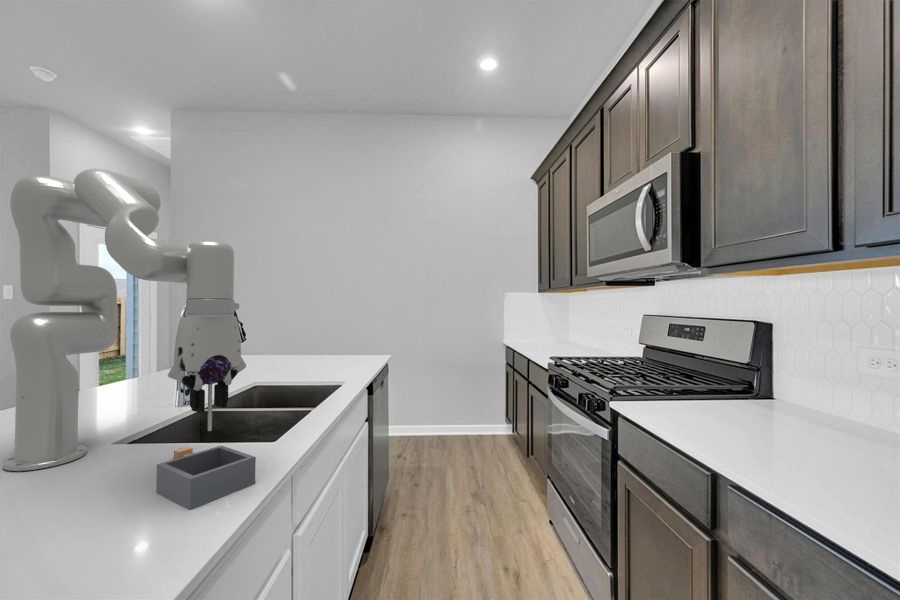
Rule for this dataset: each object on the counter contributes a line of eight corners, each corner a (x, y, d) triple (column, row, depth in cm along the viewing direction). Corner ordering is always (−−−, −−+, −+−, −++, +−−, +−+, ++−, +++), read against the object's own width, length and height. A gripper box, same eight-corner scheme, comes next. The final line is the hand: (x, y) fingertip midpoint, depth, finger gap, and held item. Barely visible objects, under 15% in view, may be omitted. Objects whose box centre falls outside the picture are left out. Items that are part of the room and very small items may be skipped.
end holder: (156, 492, 72) (156, 464, 72) (220, 470, 81) (221, 445, 81) (189, 509, 66) (190, 479, 66) (255, 483, 75) (255, 456, 76)
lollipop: (222, 423, 78) (222, 346, 79) (237, 429, 74) (237, 348, 74) (181, 431, 73) (182, 349, 73) (195, 439, 69) (196, 351, 69)
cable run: (171, 457, 88) (171, 447, 88) (191, 453, 90) (191, 443, 90) (186, 481, 76) (186, 470, 76) (209, 476, 79) (209, 464, 79)
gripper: (241, 308, 83) (240, 397, 83) (149, 309, 69) (147, 416, 69) (263, 309, 79) (263, 402, 79) (171, 309, 65) (169, 423, 65)
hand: (209, 407), depth 74 cm, fingers closed on lollipop, 3 cm apart
